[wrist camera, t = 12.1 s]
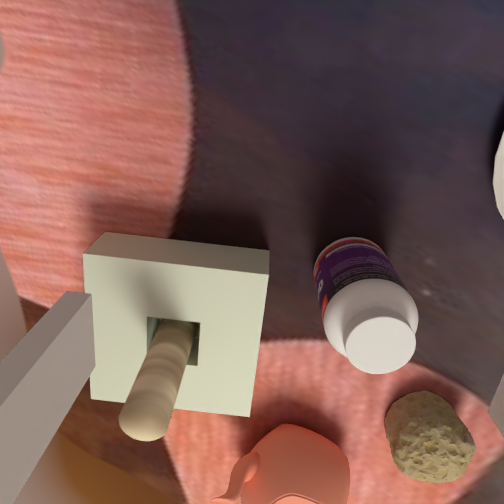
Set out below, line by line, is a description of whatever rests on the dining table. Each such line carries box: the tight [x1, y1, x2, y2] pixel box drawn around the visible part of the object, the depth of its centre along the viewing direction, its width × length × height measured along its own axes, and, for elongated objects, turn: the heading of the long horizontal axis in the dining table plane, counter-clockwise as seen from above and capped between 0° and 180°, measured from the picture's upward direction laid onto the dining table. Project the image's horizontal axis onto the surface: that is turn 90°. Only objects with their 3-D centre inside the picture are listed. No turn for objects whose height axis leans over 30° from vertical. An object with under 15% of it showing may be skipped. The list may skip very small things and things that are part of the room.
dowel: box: [119, 318, 199, 441], centre depth 42 cm, size 4×4×16 cm
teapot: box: [211, 423, 350, 504], centre depth 52 cm, size 13×20×12 cm, turn 61°
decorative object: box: [385, 390, 475, 483], centre depth 52 cm, size 9×10×10 cm
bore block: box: [83, 232, 269, 417], centre depth 47 cm, size 18×18×6 cm
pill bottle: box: [314, 237, 418, 374], centre depth 40 cm, size 8×8×14 cm
